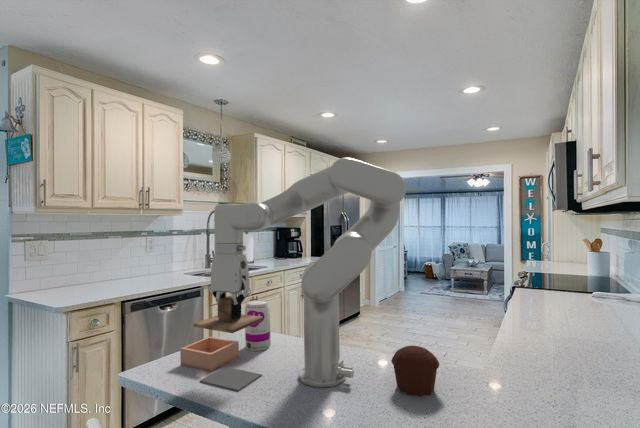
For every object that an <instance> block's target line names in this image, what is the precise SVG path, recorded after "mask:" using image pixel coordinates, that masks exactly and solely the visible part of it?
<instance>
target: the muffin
mask: <svg viewBox="0 0 640 428" xmlns="http://www.w3.org/2000/svg"><path fill="white" fill-rule="evenodd" d="M390 362H391V363H392V365H393V370H394V376H395V381H396V387H397V388H398V390H399V392H401V393H403V394H405V395H407V396H411V397H419V398H420V397H425V396H426V397H427V396H431V395H432V393H433V391H434V390H435V384H436V379H437V373H438V372H437V371H438V369H439V368H440V362H439V360H438V358H437V357H436V356H435V354H434V353H433V352H431V351H430V350H428V349H427V348H425V347H422V346H419V345H406V346H403V347H401V348H399V349H398V350H396V351H395V352H394V354H393V356H392V358H391V360H390Z"/></svg>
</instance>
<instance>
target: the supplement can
mask: <svg viewBox="0 0 640 428" xmlns="http://www.w3.org/2000/svg"><path fill="white" fill-rule="evenodd" d="M244 314H245V315H252V316H259V317H263V320H262V321H260V322H258V323H255V324H253V325H251V326H248V327H246V328H244V329H245V331H244V333H245V334H244V335H245V348H246V349H247V350H249V351H252V352H259V351H265V350H268V349H269V347H270V346H271V345H272V344H271V343H272V342H271V341H272V340H271V306H270V304H269V301H268V300H265V299H255V300H250V301H247V302H246V305H245V306H244Z"/></svg>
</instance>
